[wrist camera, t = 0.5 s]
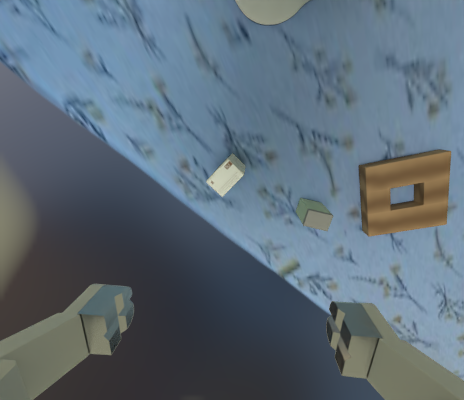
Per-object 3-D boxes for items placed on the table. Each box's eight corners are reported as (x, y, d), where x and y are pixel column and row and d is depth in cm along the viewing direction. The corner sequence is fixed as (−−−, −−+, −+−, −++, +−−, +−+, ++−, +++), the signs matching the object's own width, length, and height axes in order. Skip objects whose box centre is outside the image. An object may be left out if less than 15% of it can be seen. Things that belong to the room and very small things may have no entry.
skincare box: (228, 183, 53) (222, 199, 41) (214, 170, 52) (204, 183, 41) (246, 165, 51) (246, 176, 40) (232, 150, 50) (227, 158, 39)
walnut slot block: (358, 165, 49) (365, 167, 47) (438, 149, 47) (451, 151, 44) (362, 230, 54) (368, 236, 51) (435, 218, 52) (446, 224, 49)
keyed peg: (300, 197, 53) (308, 210, 45) (321, 202, 53) (333, 215, 45) (295, 211, 54) (303, 225, 46) (316, 216, 54) (327, 231, 46)
